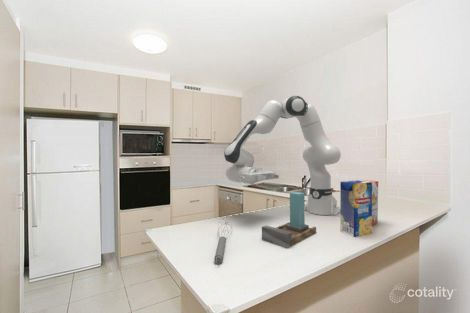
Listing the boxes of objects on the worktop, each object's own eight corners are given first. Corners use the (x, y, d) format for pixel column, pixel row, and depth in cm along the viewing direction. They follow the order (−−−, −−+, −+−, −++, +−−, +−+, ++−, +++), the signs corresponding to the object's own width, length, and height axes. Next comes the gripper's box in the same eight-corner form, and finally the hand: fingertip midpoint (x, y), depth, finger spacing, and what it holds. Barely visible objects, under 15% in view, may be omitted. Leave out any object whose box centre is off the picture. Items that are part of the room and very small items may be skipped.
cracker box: (367, 229, 101) (367, 183, 101) (353, 226, 106) (353, 181, 105) (378, 223, 110) (378, 180, 110) (365, 220, 114) (365, 179, 114)
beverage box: (372, 233, 96) (372, 182, 96) (354, 237, 92) (354, 183, 92) (357, 228, 103) (357, 180, 102) (340, 231, 98) (340, 181, 98)
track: (291, 226, 106) (291, 215, 106) (316, 232, 97) (316, 221, 97) (261, 239, 90) (261, 227, 90) (287, 248, 81) (287, 234, 81)
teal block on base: (294, 225, 102) (294, 191, 102) (308, 228, 97) (308, 193, 97) (285, 228, 98) (285, 193, 97) (300, 232, 93) (300, 195, 92)
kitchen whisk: (207, 268, 68) (207, 247, 68) (219, 230, 102) (219, 216, 102) (227, 268, 68) (227, 247, 68) (232, 231, 101) (232, 217, 101)
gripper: (236, 170, 109) (258, 171, 99) (262, 168, 123) (284, 169, 114) (236, 183, 109) (258, 186, 99) (262, 179, 123) (284, 182, 114)
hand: (272, 177), depth 107 cm, fingers open, 8 cm apart
